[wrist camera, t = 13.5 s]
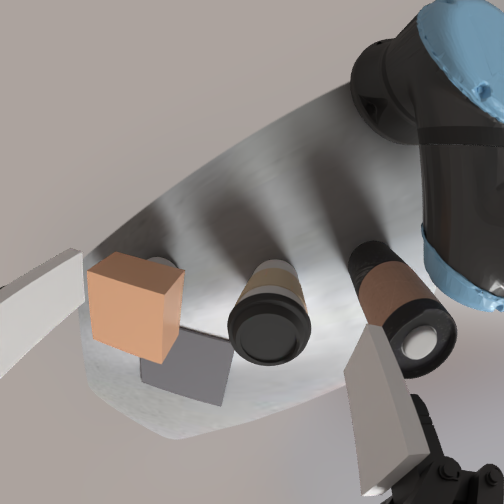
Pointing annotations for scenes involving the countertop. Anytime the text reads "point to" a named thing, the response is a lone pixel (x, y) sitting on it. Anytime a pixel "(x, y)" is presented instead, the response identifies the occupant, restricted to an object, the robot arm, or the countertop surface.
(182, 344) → the mat
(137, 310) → the orange block
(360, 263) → the travel mug
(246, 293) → the coffee cup
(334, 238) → the countertop surface
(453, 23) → the robot arm
